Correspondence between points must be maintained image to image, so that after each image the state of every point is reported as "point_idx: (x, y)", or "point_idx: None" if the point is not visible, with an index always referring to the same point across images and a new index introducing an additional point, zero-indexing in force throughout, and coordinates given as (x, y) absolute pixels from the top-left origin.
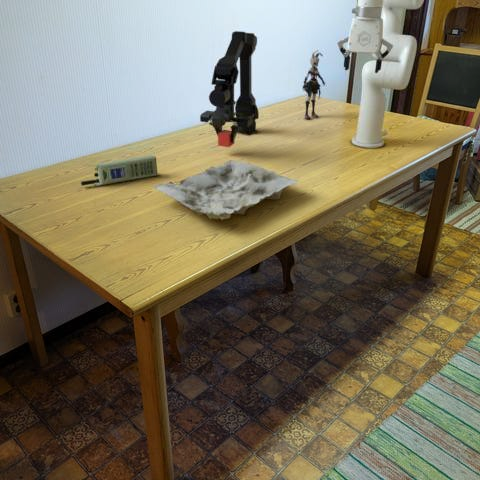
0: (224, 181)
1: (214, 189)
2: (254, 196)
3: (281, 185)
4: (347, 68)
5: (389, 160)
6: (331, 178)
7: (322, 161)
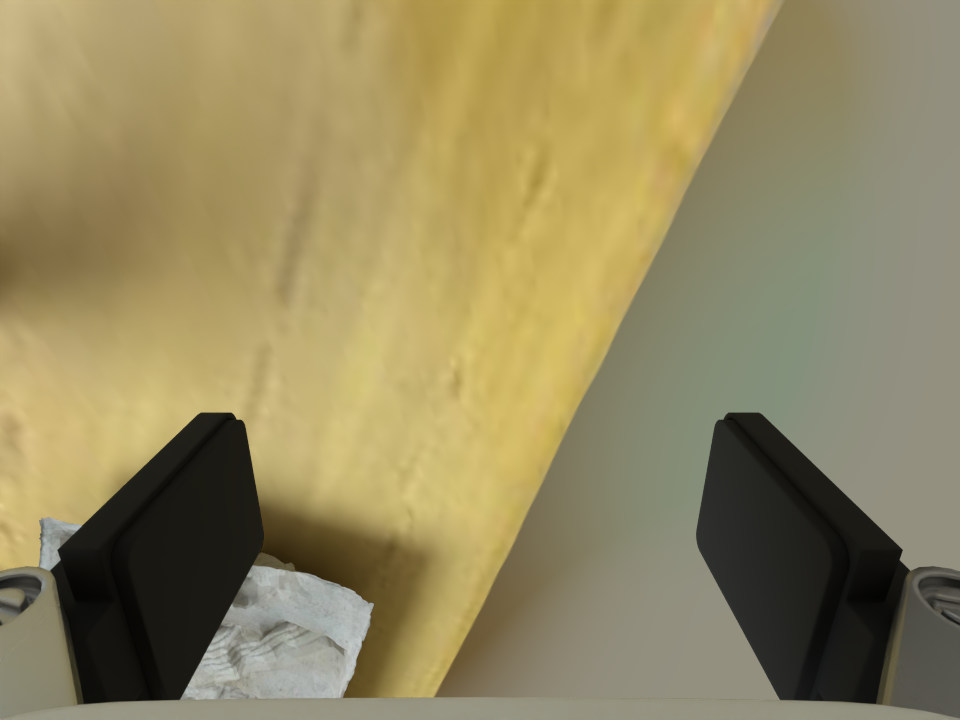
0: None
1: None
2: (281, 670)
3: (327, 624)
4: (254, 543)
5: (659, 37)
6: (440, 389)
7: (342, 211)
